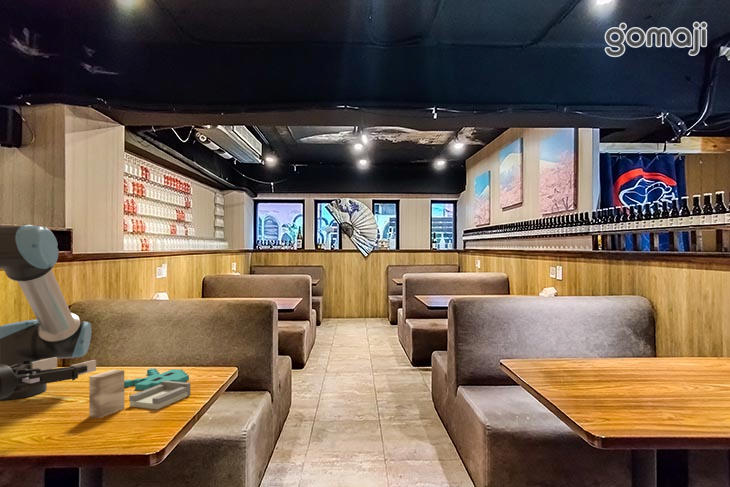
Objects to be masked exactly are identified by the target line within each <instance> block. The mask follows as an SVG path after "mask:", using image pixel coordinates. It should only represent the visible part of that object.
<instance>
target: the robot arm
mask: <svg viewBox="0 0 730 487" xmlns="http://www.w3.org/2000/svg"><path fill="white" fill-rule="evenodd" d="M58 245H59V244H58V241H57V237H56V236H55V235H54V233H53V232H52V231H51V230H50V228H47V227H46V226H43V225H42V226H41V225H33V224H24V225H0V270H1V269H2V270H3V271H4V273H5V274H6V276H7V278H8V279H10V280H12V281H14V282H17V283H18V285H19V287H20V289H21V291H22V293H23V294H24V297H25V299H26V300H27V302H28V305H29V306H30V308H31V310H32V312H33V315H34V316H35V317H36V319H34V318H33V319H28V320H27V319H26V320H22V321H16V322H12V323H11V322H10V323H5V324H2V325H0V401H7V400H9V399H10V400H16V399H17V400H18V399H23V398H28V397H32V396H35V395H39V394H41V393H44V392H45V391H47V389H48V385H47V384H51V383H52V384H53V383H58V382H63V381H69V380H71V381H75V380H77V379H78V378H79V376H81V375H85V374H89V373H92V372H95V371H97V359H92V360H88V361H84V362H79V363H75V364H71V365H70V366H65V367H64V366H63V367H58V360H59V359H74V358H75V359H76V358H81V357H83V356H85V355H86V354H88V351H89V349H90V344H91V339H92V325H91V323H90V322H89V321H85V320H84V321H81V320H80V317H79V316H78V315H77V314H75V313H73V312H72V311H71V310H70V309H69V305H68V303H67V302H66V299H65V297H64V294H63V291H62V290H61V287H60V285H59V283H58V281H57V279H56V276H55V274H54V272H53V269H54V266H55V265H56V263H57V262H58V259H59V248H58Z"/></svg>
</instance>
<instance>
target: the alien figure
mask: <svg viewBox="0 0 730 487" xmlns="http://www.w3.org/2000/svg"><path fill="white" fill-rule="evenodd" d="M146 375H148V376H146V377H144V378H139V377H137V378H134V379H124V388H130V387H132V386H134V388H135V391H138V390H139V391H144V390H146V389H149V388H152V387H155V386H157V385H160V384H161V382H162V381H175V382H186V383H187V382H188V381H190V380H189V379H190V375H189V374H188V372H187V373H186V371H184V369H175V368H174V369H173V368H172V369H169V370H167V371H165V372H162V373H160V372H159V370H158V369H157V368H152V367H151V368H148V369H147V370H146Z"/></svg>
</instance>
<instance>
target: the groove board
mask: <svg viewBox="0 0 730 487" xmlns="http://www.w3.org/2000/svg"><path fill="white" fill-rule="evenodd" d="M189 396H191V382H187V381H186V382H175V381H162V382H161V384H160V385H157V386H155V387H152V388H149V389H146V390H140V391H138V392H136V393H133V394H130V395H129V396H128V398H129V399H128V402H129V407H134V408H135V407H136V408H143V409H151V410H160V409H161V408H164V407H166V406H169V405H171V404H173V403H176V402H178V401H180V400H183V399H185V398H186V397H189Z"/></svg>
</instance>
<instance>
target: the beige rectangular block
mask: <svg viewBox="0 0 730 487" xmlns="http://www.w3.org/2000/svg"><path fill="white" fill-rule="evenodd" d="M88 377H89V381H88V382H89V383H88V385H89V389H88V391H89V395H88V396H89V405H88V406H89V408H88V409H89V417H91V418H96V419H102V418H105V417H106V416H110V415H112V414H114V413H118V412H119V410H120V411H123V410H124V409H125V387H124V381H125V370H123V369H110V370H107V371H104V372H100V373H97V374H93V375H90V376H88ZM104 416H105V417H104Z"/></svg>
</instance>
